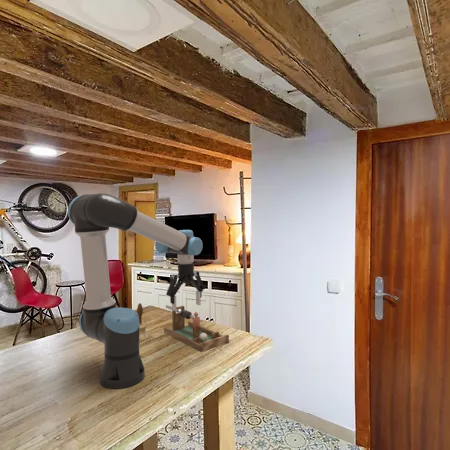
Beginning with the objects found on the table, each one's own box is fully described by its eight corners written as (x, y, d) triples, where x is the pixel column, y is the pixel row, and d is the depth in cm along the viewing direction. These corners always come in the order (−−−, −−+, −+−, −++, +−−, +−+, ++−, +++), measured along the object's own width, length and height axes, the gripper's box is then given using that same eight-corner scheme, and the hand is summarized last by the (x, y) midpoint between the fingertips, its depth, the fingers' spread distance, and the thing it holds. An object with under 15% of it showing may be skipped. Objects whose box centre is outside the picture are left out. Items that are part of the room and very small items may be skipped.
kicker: (194, 338, 150) (194, 313, 150) (164, 323, 171) (163, 301, 170) (200, 336, 152) (200, 312, 152) (169, 322, 173) (169, 300, 173)
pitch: (201, 354, 136) (200, 325, 136) (164, 334, 159) (163, 309, 159) (228, 345, 146) (228, 318, 146) (190, 327, 169) (190, 304, 169)
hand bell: (151, 334, 159) (150, 301, 159) (145, 341, 151) (145, 306, 151) (134, 334, 160) (134, 301, 160) (127, 340, 152) (127, 305, 152)
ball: (202, 343, 145) (202, 335, 145) (197, 340, 148) (197, 333, 148) (209, 341, 148) (209, 333, 147) (204, 339, 150) (204, 331, 150)
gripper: (166, 266, 146) (167, 314, 147) (211, 260, 162) (212, 304, 163) (158, 264, 152) (159, 310, 153) (202, 259, 168) (203, 300, 169)
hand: (186, 307), depth 158 cm, fingers open, 13 cm apart
